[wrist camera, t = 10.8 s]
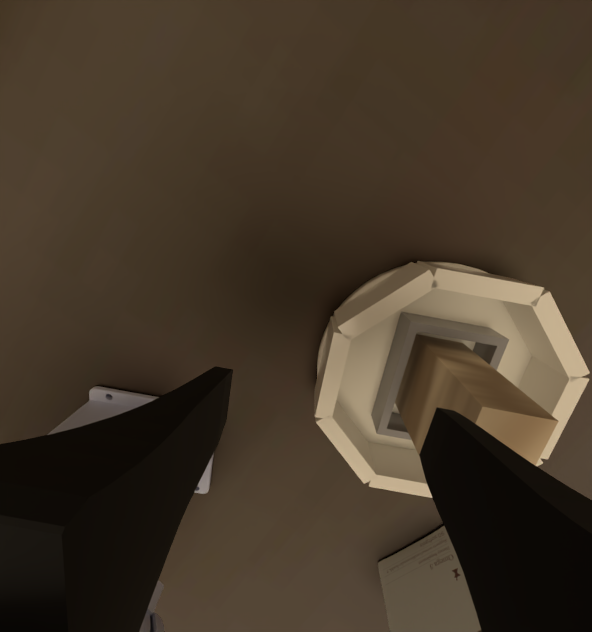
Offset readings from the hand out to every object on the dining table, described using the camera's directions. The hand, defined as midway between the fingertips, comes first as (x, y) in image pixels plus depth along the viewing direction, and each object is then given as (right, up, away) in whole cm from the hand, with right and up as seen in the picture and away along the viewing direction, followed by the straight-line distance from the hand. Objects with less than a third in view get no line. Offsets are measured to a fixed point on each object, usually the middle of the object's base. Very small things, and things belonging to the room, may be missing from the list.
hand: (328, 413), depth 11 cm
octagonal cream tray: (+8, 0, +10) cm, 13 cm away
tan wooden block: (+7, 0, +10) cm, 12 cm away
